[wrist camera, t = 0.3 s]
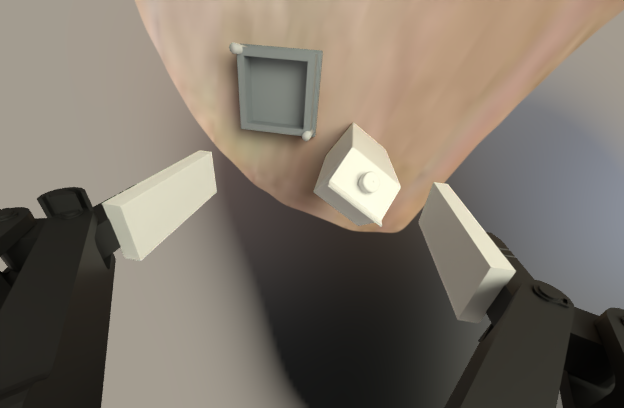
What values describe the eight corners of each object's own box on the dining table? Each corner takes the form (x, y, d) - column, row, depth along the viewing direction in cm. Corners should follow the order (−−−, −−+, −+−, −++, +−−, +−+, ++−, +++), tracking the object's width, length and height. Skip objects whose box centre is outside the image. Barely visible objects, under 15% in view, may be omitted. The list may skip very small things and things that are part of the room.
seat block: (242, 44, 36) (227, 40, 31) (322, 51, 35) (318, 48, 30) (246, 127, 42) (234, 133, 37) (315, 135, 40) (310, 143, 36)
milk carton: (356, 179, 43) (358, 246, 27) (325, 155, 42) (307, 208, 25) (386, 149, 40) (408, 203, 23) (353, 121, 38) (352, 157, 22)
